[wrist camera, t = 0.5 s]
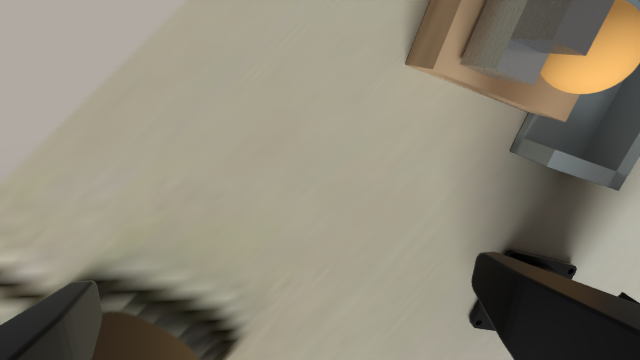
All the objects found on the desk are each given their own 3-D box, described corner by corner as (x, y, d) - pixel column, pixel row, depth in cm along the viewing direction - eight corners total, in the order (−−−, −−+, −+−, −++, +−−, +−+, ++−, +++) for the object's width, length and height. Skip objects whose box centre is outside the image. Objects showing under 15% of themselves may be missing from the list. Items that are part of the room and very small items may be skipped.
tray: (672, 4, 22) (733, 0, 20) (576, 173, 25) (618, 190, 23) (603, -37, 21) (661, -48, 18) (509, 150, 24) (546, 166, 21)
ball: (602, 18, 18) (695, 15, 15) (561, 98, 19) (637, 113, 16) (541, -15, 17) (625, -27, 13) (501, 72, 18) (569, 82, 15)
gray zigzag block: (543, -30, 17) (651, -51, 12) (493, 78, 18) (576, 93, 14) (507, -49, 16) (609, -78, 12) (459, 64, 17) (535, 74, 13)
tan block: (576, 8, 21) (627, 4, 18) (525, 111, 23) (565, 121, 20) (452, -58, 18) (491, -73, 16) (405, 64, 20) (432, 69, 17)
